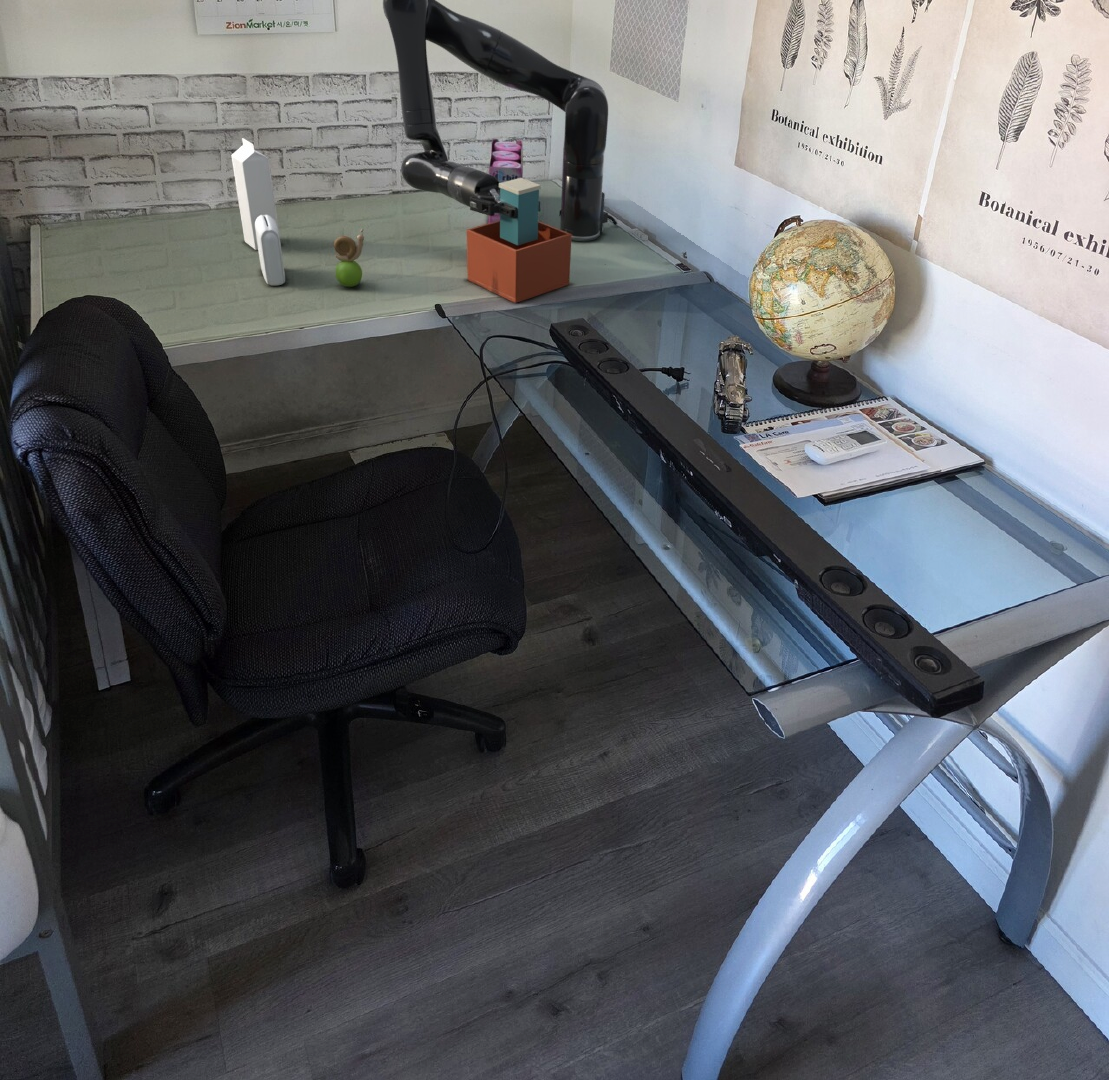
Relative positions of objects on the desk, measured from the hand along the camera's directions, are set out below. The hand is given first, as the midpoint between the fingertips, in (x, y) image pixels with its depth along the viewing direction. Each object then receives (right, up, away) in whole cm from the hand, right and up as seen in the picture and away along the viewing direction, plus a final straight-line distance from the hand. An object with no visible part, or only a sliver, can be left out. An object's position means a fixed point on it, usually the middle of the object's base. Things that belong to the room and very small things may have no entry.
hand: (527, 210), depth 198 cm
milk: (-60, 0, +24) cm, 64 cm away
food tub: (-2, -4, +5) cm, 7 cm away
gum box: (-7, +16, +47) cm, 50 cm away
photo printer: (-53, -11, +9) cm, 55 cm away
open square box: (-2, -12, +11) cm, 16 cm away
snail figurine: (-36, -14, +7) cm, 39 cm away
